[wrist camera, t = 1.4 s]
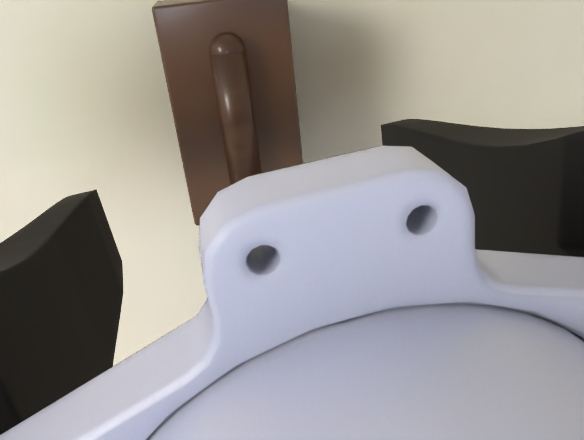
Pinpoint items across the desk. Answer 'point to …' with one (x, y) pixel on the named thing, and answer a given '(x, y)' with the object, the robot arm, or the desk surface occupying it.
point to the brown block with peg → (229, 90)
